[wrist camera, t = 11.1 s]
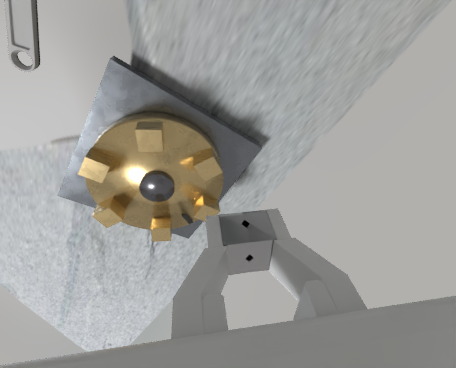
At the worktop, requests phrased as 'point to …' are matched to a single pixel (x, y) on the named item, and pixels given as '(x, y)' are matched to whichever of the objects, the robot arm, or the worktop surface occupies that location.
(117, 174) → the ring nut
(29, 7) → the adjustable wrench
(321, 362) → the robot arm
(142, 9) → the worktop surface
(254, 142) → the base plate
